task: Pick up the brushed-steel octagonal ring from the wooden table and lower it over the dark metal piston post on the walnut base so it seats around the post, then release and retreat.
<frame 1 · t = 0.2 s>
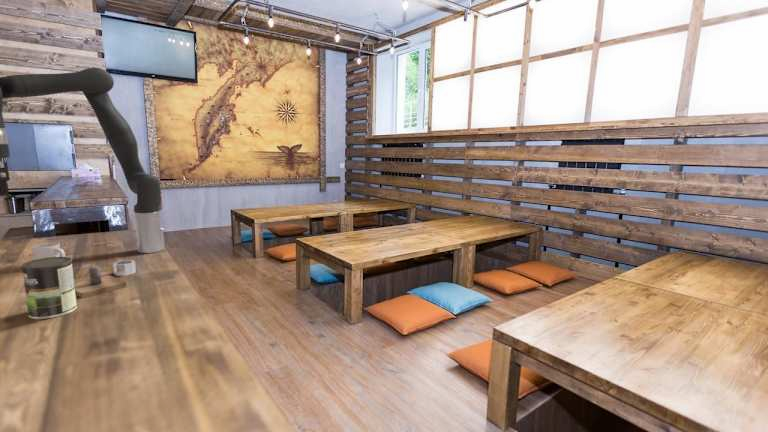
coffee can: (54, 312, 105), on the table
cup: (52, 266, 144), on the table
post block: (96, 288, 122), on the table
ring: (125, 273, 137), on the table
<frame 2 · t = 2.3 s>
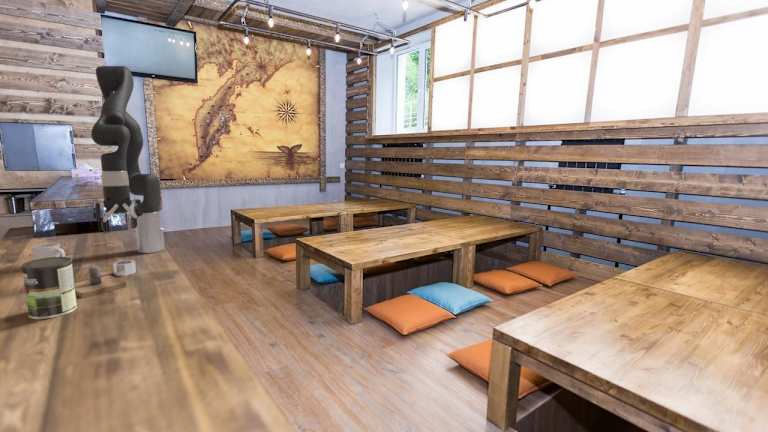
hand: (120, 230, 134), 16 cm above the table, fingers open, 8 cm apart
nothing on the table moved.
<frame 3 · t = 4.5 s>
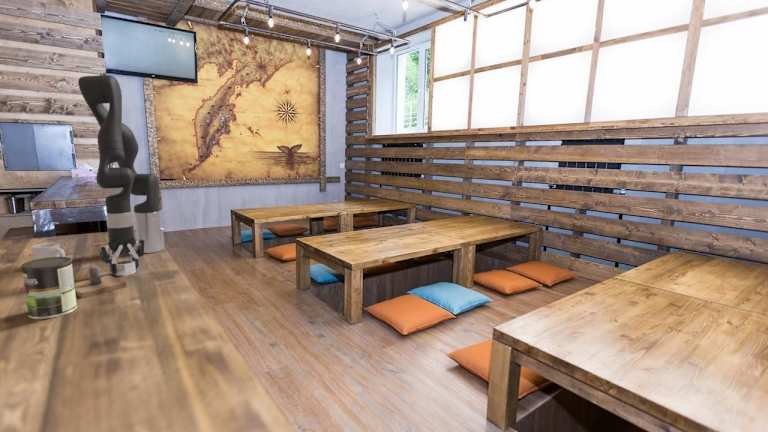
hand: (124, 270, 137), 1 cm above the table, fingers closed on ring, 6 cm apart
ring: (125, 273, 137), on the table, touching gripper
everything else where it was.
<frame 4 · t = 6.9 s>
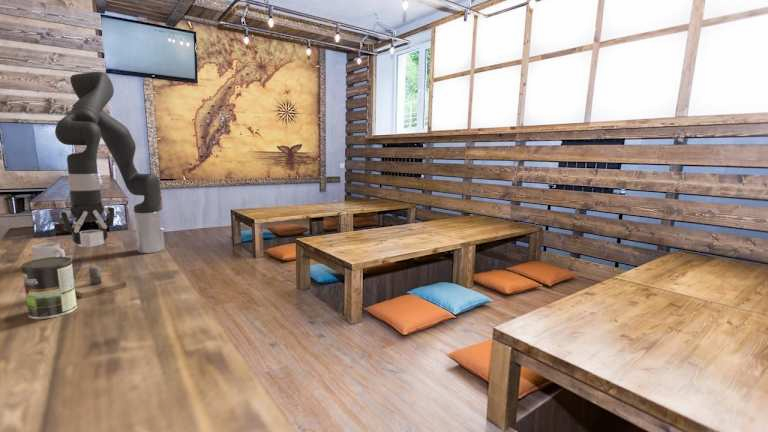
hand: (90, 241, 120), 15 cm above the table, fingers closed on ring, 6 cm apart
ring: (91, 244, 120), point 14 cm above the table, touching gripper
everything else where it was.
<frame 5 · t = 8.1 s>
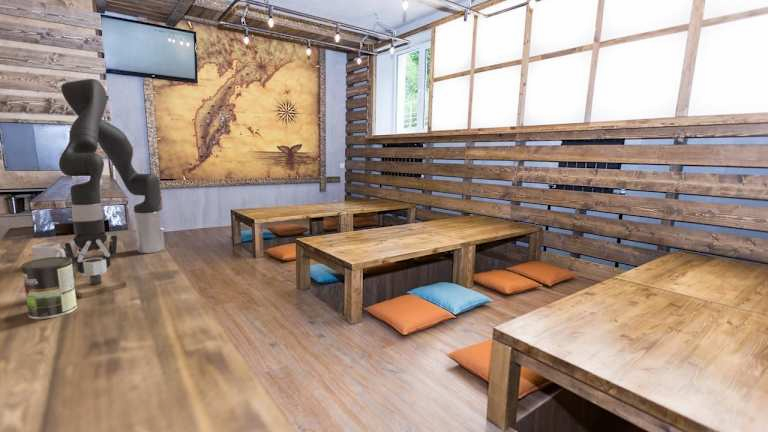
hand: (94, 270, 121), 6 cm above the table, fingers closed on ring, 6 cm apart
ring: (94, 272, 122), point 5 cm above the table, touching gripper
everything else where it was.
when the fingers open (5 cm above the table, at t = 9.2 s): ring drops 3 cm, resting on post block.
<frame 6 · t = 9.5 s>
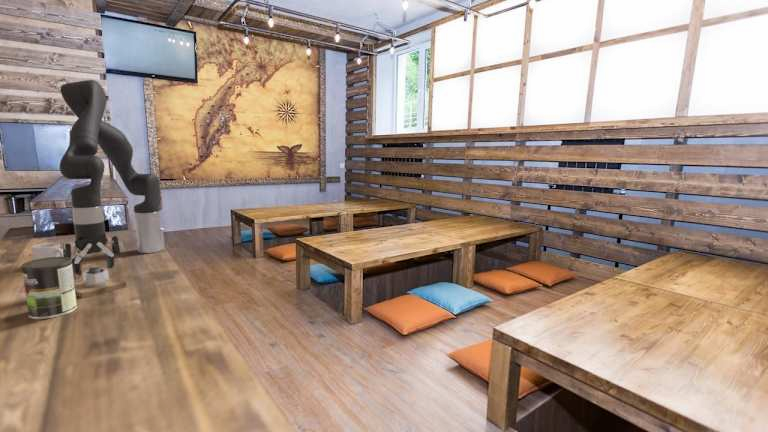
hand: (94, 271, 122), 6 cm above the table, fingers open, 8 cm apart
ring: (96, 283, 122), point 1 cm above the table, touching post block
everything else where it was.
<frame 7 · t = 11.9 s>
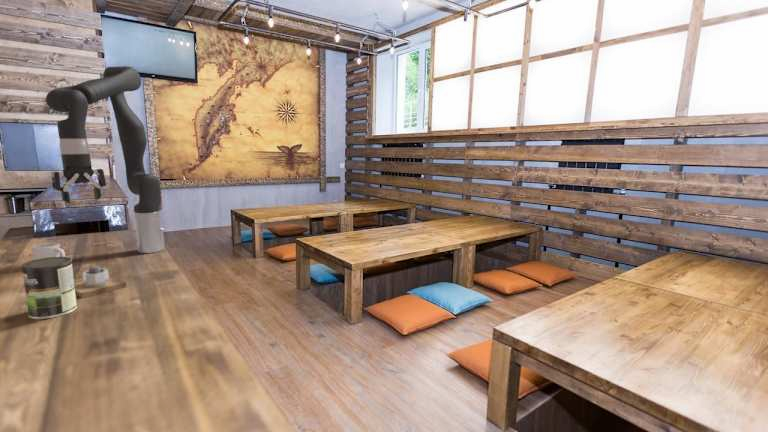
hand: (82, 200, 130), 26 cm above the table, fingers open, 8 cm apart
nothing on the table moved.
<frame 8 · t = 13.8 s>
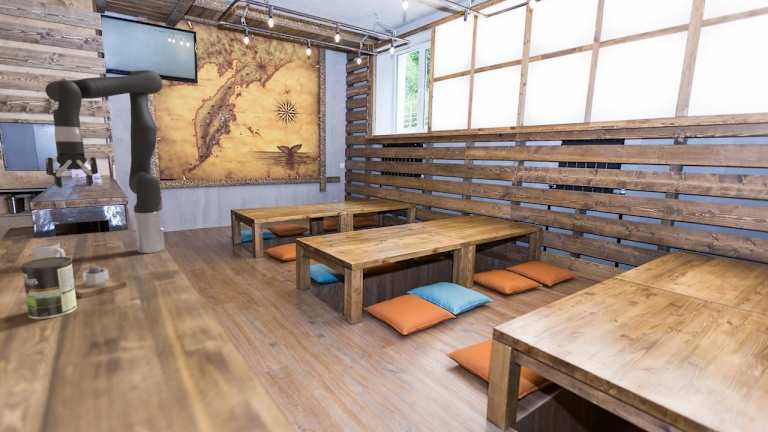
hand: (74, 186, 137), 30 cm above the table, fingers open, 8 cm apart
nothing on the table moved.
at the end: ring 0.1 cm off-centre on the post block, point 1.5 cm above the post block's base; ring tilted 0°; the gripper is holding nothing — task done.
